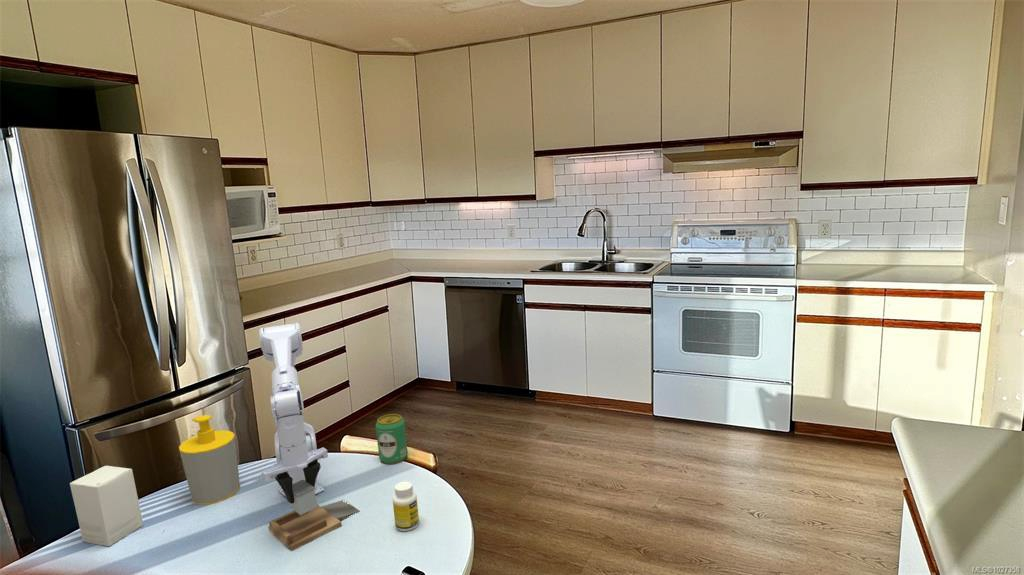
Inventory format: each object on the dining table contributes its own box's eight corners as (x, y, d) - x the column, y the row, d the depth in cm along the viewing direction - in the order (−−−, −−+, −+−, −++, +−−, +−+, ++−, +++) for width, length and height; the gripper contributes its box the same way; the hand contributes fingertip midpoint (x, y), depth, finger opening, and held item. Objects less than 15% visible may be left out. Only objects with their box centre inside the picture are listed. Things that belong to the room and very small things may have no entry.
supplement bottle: (414, 532, 129) (410, 492, 127) (391, 531, 130) (387, 491, 129) (422, 518, 134) (418, 480, 133) (400, 517, 136) (396, 479, 134)
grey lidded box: (289, 506, 133) (285, 487, 132) (306, 498, 136) (302, 479, 135) (300, 515, 129) (296, 495, 128) (317, 507, 132) (314, 487, 131)
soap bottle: (218, 477, 161) (205, 405, 158) (254, 483, 157) (242, 409, 153) (176, 502, 150) (162, 425, 146) (213, 509, 145) (199, 430, 141)
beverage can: (375, 464, 163) (370, 424, 161) (385, 451, 170) (381, 413, 168) (402, 465, 161) (397, 424, 159) (411, 451, 169) (407, 413, 167)
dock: (269, 532, 134) (267, 520, 134) (339, 499, 147) (338, 488, 146) (292, 553, 126) (290, 540, 125) (364, 516, 138) (363, 504, 138)
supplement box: (145, 525, 140) (133, 467, 137) (109, 547, 132) (96, 487, 129) (118, 520, 143) (106, 464, 140) (81, 542, 135) (68, 482, 132)
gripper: (268, 459, 122) (277, 517, 125) (331, 435, 132) (338, 489, 135) (254, 450, 127) (263, 506, 130) (316, 427, 137) (323, 480, 140)
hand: (300, 497), depth 133 cm, fingers closed on grey lidded box, 4 cm apart
